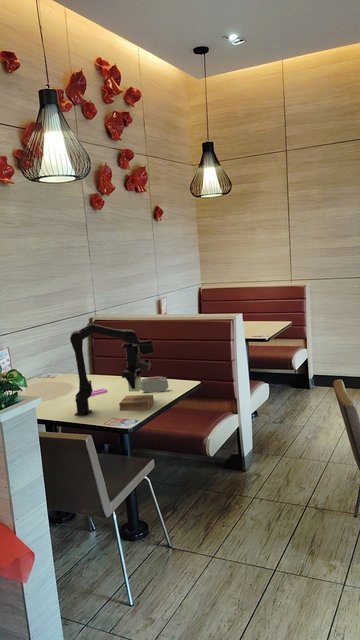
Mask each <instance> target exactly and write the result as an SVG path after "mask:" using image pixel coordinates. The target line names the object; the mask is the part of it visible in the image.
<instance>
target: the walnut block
mask: <svg viewBox="0 0 360 640" xmlns="http://www.w3.org/2000/svg"><path fill="white" fill-rule="evenodd" d="M154 400H155V398H154V394H140V395H135V394H134V395H125V396H124V398H122V400H121V401H120V402H119V403H118V404H119V411H148V410H149V409H150V408H151V407H152V405H153V404H154V402H155V401H154Z"/></svg>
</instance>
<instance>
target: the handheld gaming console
mask: <svg viewBox="0 0 360 640" xmlns="http://www.w3.org/2000/svg"><path fill="white" fill-rule="evenodd" d="M168 383H169V382H168V379H167V377H165V376H148V377H146V378H141V385H142V389H141V390H140V391H142V392H144V393H149V394H154V393H153V392H157V393H161V392H164V391H166V390H168V388H169V384H168Z"/></svg>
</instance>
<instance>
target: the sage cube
mask: <svg viewBox="0 0 360 640" xmlns="http://www.w3.org/2000/svg"><path fill="white" fill-rule="evenodd" d="M141 382H142V377H141V375H140V376H139V377H136V378H135V389H132V387H131V386H130V384H129V383H128V382H127V384H128V392H140V391H142V390H141V389H142V385H141Z"/></svg>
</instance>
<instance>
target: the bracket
mask: <svg viewBox="0 0 360 640" xmlns="http://www.w3.org/2000/svg"><path fill="white" fill-rule="evenodd" d="M106 393H108V389H107V388H99V389H94V390H93V392H91V396H90V397H94V396H98V395H103V394H106ZM90 397H89V398H90Z"/></svg>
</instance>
